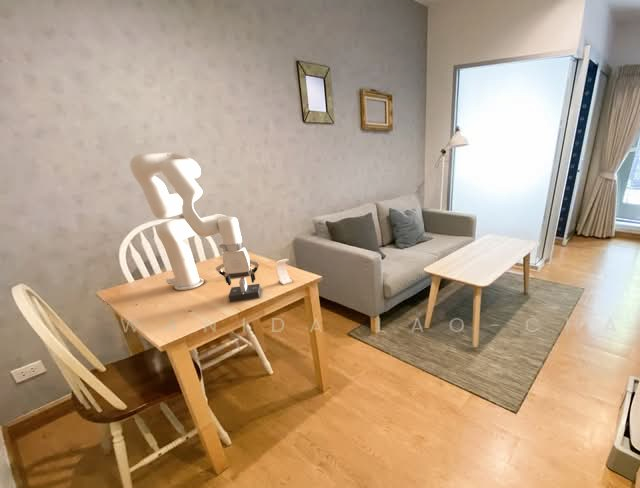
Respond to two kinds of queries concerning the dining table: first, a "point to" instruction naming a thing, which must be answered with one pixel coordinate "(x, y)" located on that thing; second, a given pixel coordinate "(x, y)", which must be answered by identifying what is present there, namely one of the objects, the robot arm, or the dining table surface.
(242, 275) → the button block
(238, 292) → the device
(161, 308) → the dining table surface
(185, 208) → the robot arm
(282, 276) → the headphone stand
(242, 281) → the grey rectangular block
